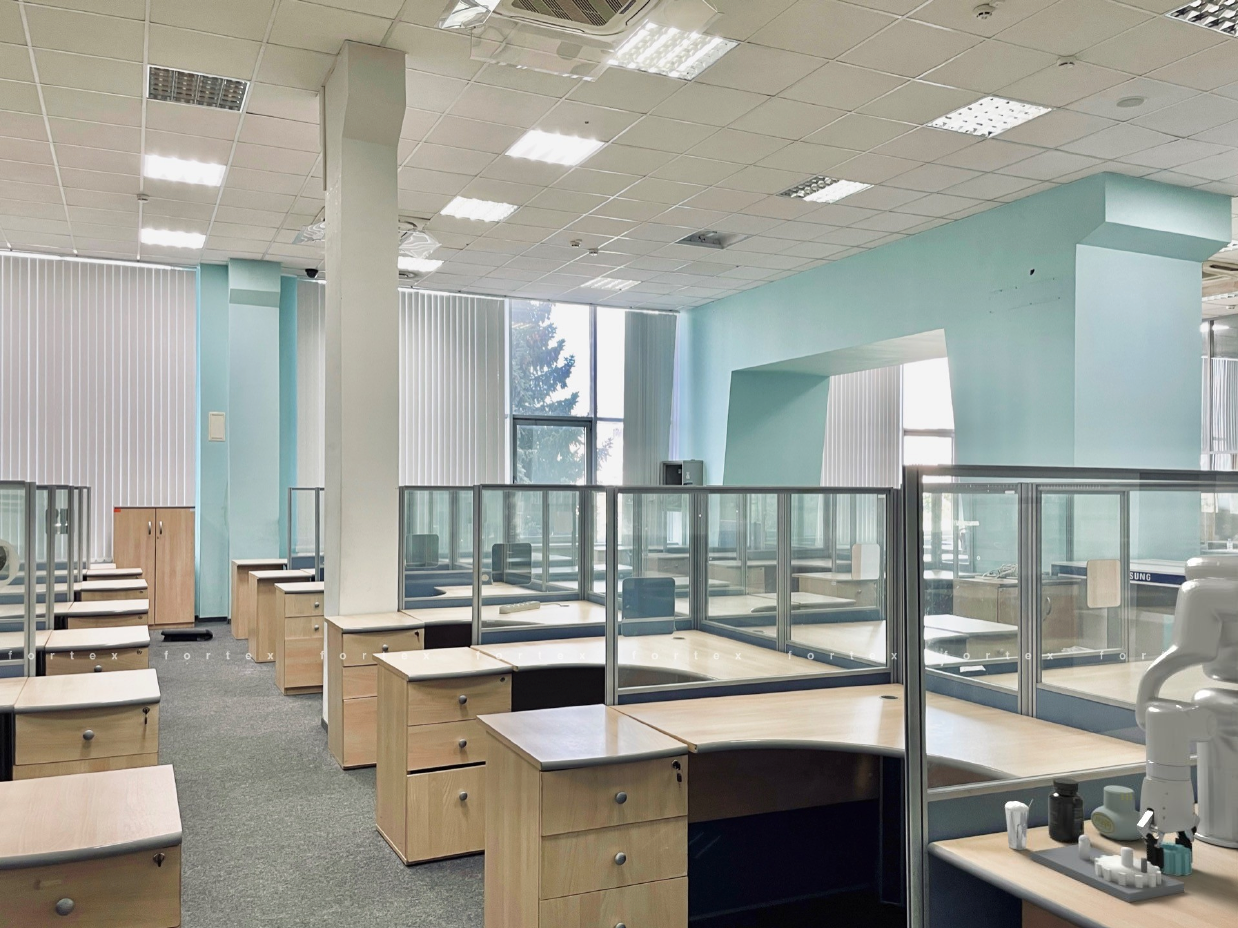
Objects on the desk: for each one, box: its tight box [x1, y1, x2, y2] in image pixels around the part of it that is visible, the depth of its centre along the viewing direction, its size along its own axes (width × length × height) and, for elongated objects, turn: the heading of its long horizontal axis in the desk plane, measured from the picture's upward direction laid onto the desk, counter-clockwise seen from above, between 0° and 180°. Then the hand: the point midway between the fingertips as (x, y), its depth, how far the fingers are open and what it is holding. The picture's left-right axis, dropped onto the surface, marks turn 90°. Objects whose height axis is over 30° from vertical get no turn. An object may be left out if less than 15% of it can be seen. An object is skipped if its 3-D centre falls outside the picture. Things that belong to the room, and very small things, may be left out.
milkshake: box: [1004, 798, 1034, 851], centre depth 193 cm, size 4×5×10 cm
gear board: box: [1030, 834, 1185, 903], centre depth 179 cm, size 14×22×6 cm, turn 22°
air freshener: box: [1090, 785, 1142, 842], centre depth 201 cm, size 11×8×10 cm
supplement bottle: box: [1047, 777, 1085, 844], centre depth 199 cm, size 7×7×12 cm
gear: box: [1160, 841, 1193, 877], centre depth 182 cm, size 7×7×4 cm
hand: (1169, 862), depth 182 cm, fingers closed on gear, 7 cm apart
